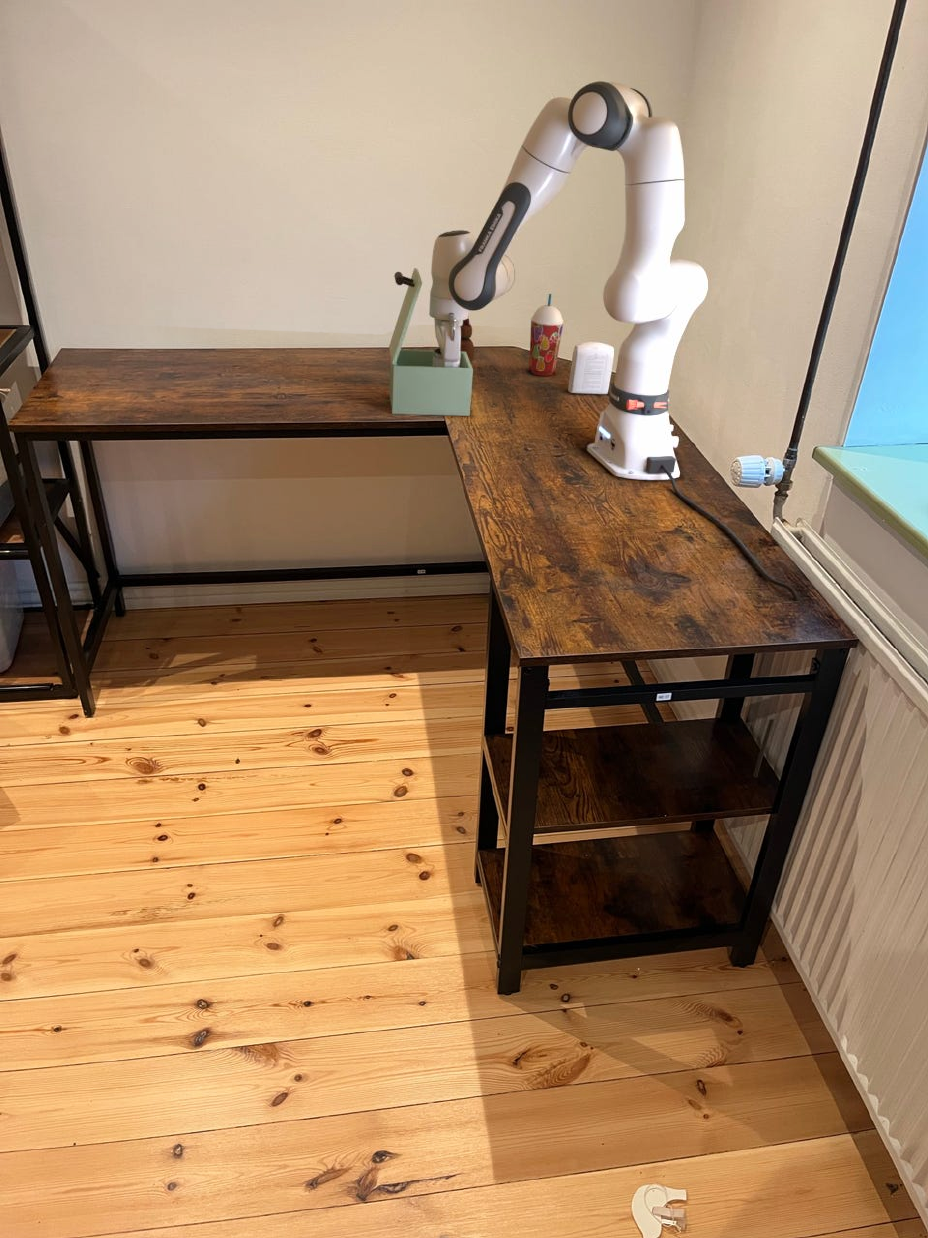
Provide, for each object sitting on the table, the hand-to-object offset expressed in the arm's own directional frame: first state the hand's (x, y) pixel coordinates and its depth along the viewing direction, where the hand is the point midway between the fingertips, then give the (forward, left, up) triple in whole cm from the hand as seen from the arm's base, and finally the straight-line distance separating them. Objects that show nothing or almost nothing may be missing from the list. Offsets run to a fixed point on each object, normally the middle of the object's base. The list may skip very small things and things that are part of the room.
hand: (445, 370), depth 219 cm
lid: (0, +9, +12) cm, 15 cm away
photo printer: (+13, -37, -8) cm, 41 cm away
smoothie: (+28, -28, -8) cm, 41 cm away
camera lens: (0, 0, -3) cm, 3 cm away
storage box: (0, +4, -8) cm, 9 cm away
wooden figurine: (+31, -7, -8) cm, 33 cm away
